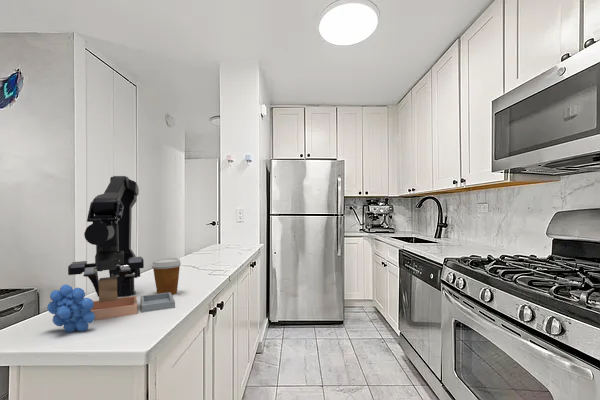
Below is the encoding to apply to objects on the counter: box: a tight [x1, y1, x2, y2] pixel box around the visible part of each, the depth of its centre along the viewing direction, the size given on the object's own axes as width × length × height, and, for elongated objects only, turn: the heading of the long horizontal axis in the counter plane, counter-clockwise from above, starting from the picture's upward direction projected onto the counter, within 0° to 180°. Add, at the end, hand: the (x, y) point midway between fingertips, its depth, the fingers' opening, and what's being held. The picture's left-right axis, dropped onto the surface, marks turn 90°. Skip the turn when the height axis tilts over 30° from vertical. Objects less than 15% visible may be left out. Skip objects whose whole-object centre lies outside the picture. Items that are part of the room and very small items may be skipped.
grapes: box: [46, 284, 95, 333], centre depth 86 cm, size 12×7×12 cm, turn 88°
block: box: [98, 276, 119, 303], centre depth 102 cm, size 4×4×6 cm
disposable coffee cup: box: [151, 257, 182, 296], centre depth 122 cm, size 10×10×12 cm
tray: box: [140, 292, 176, 313], centre depth 108 cm, size 12×9×2 cm
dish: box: [90, 295, 138, 321], centre depth 102 cm, size 12×15×3 cm
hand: (108, 295), depth 102 cm, fingers closed on block, 4 cm apart
